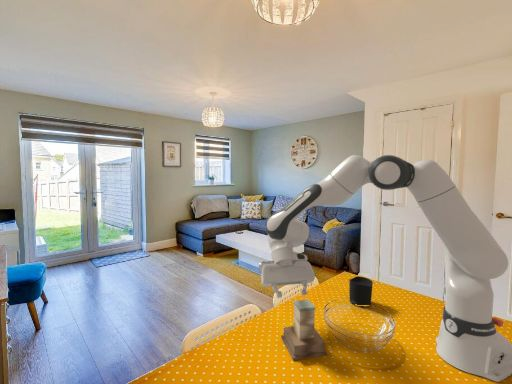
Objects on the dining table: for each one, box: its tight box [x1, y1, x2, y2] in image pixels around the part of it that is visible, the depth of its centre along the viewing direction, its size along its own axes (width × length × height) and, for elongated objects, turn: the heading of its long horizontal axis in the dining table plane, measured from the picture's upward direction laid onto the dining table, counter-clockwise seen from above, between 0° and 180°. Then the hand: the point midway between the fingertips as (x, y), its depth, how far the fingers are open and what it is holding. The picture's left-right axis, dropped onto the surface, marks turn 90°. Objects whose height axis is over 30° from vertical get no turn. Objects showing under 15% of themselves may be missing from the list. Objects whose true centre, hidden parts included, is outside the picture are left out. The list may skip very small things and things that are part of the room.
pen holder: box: [348, 275, 374, 306], centre depth 115 cm, size 9×9×10 cm
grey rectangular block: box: [293, 299, 316, 340], centre depth 85 cm, size 5×5×10 cm
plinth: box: [280, 325, 328, 361], centre depth 86 cm, size 11×11×4 cm
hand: (292, 296), depth 94 cm, fingers open, 8 cm apart
